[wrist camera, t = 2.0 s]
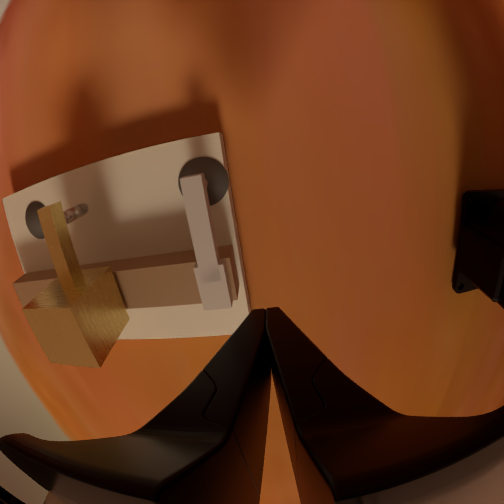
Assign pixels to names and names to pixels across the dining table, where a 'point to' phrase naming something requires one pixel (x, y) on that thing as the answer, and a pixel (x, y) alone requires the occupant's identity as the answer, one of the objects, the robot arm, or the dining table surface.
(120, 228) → the gauge board
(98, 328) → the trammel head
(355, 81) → the dining table surface
